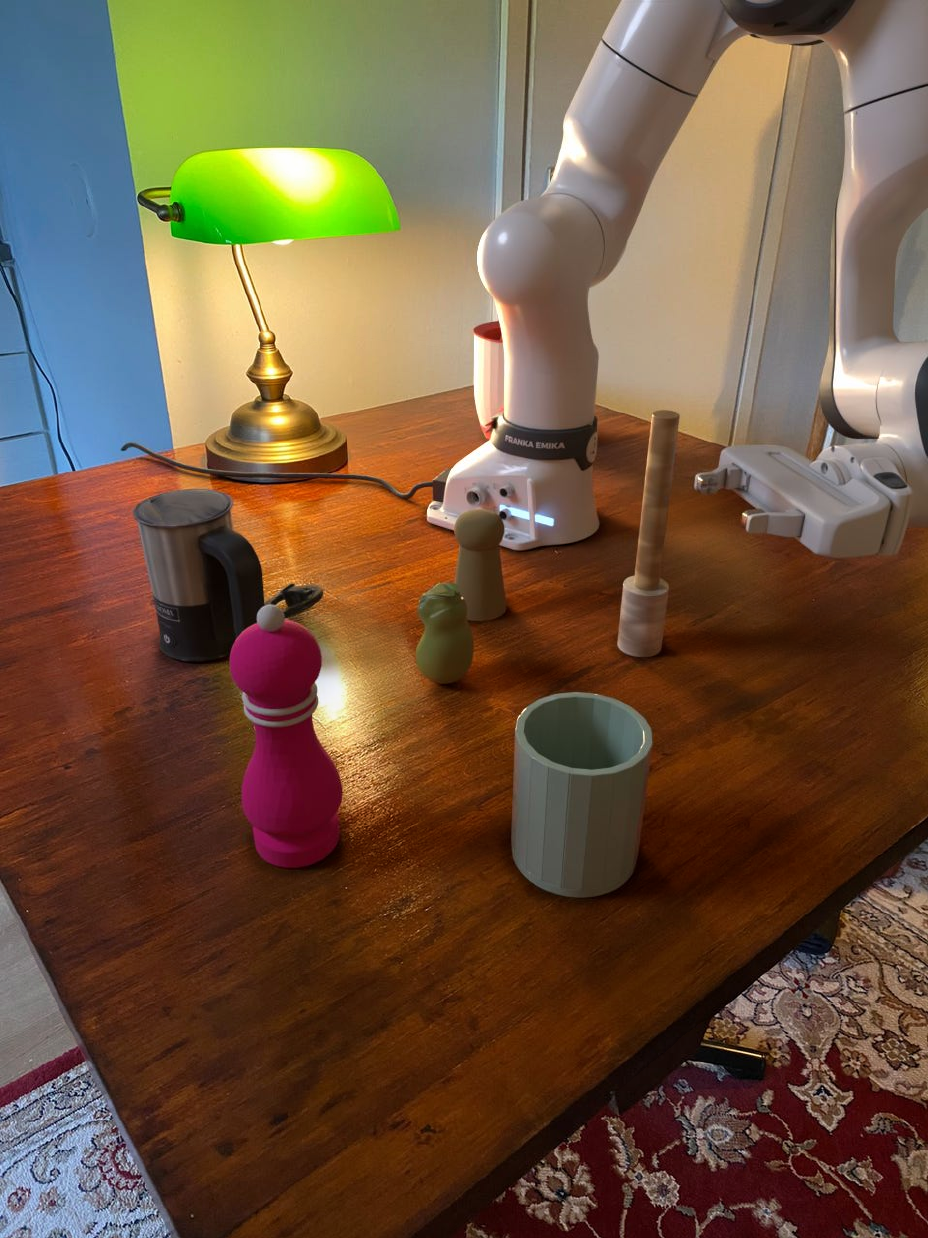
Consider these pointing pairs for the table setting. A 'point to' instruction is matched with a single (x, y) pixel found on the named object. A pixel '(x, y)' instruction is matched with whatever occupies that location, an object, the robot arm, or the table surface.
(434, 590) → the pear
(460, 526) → the brown peg figure
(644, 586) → the bottle brush
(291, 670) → the pepper mill
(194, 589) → the milk frother
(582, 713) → the faceted pen cup
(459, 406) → the table surface
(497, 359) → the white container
